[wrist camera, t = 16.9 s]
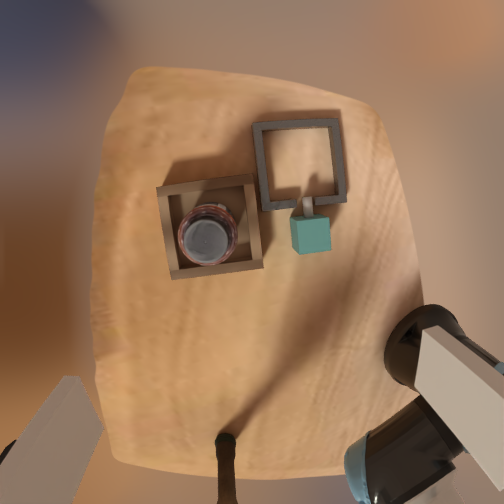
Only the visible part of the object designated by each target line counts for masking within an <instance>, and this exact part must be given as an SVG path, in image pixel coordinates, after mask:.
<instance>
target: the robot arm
mask: <svg viewBox="0 0 504 504" xmlns="http://www.w3.org/2000/svg"><path fill="white" fill-rule="evenodd" d="M384 363H385V367H386V370H387V371H388V373H389V374H390V375H391V377H392V378H393V379H394V380H395V381H396V382H398V383H399V384H402V385H404V386H408V387H409V388H410V389H412V390H414V391H416V392H418V393H419V394H420V395H419V396H418V397H417V398H415V399H414V400H413V401H412V402H410V403H409V404H408V405H406V406H405V407H404V408H403V409H401V410H400V411H399V412H397V413H396V414H395V415H393V416H392V417H391V418H389V419H388V420H386V421H385V422H384V423H382V424H381V425H379V426H378V427H376V428H375V429H373V430H372V431H371V430H370V431H368V432H367V433H366V435H365V436H363V437H362V438H361V439H359V440H358V441H356V442H355V443H354V444H352V445H351V446H350V447H349V448H348V449H347V451H346V453H345V456H344V468H345V474H346V478H347V481H348V484H349V487H350V489H351V492H352V494H353V496H354V498H355V499H356V501H358V502H359V504H466V503H465V501H464V500H463V498H462V497H461V495H460V494H459V492H458V491H457V490H456V488H455V486H454V480H455V477H456V473H457V469H456V467H455V466H454V464H453V463H452V460H453V459H454V458H455V457H456V456H458V455H459V454H460V453H461V452H462V451H465V452H466V453H469V454H471V455H472V456H473V458H474V459H475V460H476V462H477V463H478V464H479V465H480V467H481V468H482V469H483V471H484V472H485V473H486V474H487V476H488V477H489V478H490V480H491V481H492V482H493V483H494V485H495V486H496V487H497V489H498V490H499V491H501V490H503V489H504V363H503V362H500V361H499V360H497V359H496V358H495V357H494V356H492V355H491V354H490V353H488V352H487V351H486V350H484V349H483V348H482V347H480V346H479V345H478V344H476V343H475V342H473V341H472V340H471V339H469V338H468V337H466V335H465V333H464V331H463V330H462V328H461V327H460V326H459V325H458V322H457V320H456V318H455V316H454V315H453V314H452V313H451V312H450V311H448V310H447V309H445V308H444V307H442V306H440V305H436V304H430V305H425V306H422V307H419V308H417V309H415V310H414V311H412V312H411V313H409V314H408V315H407V316H406V317H405V318H404V319H403V320H402V321H401V322H400V323H399V324H398V325H397V327H396V328H395V329H394V331H393V332H392V334H391V336H390V338H389V340H388V342H387V345H386V348H385V353H384ZM103 430H104V427H103V425H102V423H101V421H100V419H99V417H98V415H97V413H96V411H95V409H94V407H93V405H92V403H91V401H90V399H89V397H88V395H87V392H86V390H85V388H84V385H83V383H82V381H81V379H80V376H64V377H63V378H62V380H61V381H60V382H59V383H58V385H57V386H56V387H55V389H54V390H53V391H52V393H51V394H50V395H49V397H48V398H47V399H46V401H45V402H44V403H43V405H42V406H41V407H40V409H39V410H38V411H37V413H36V414H35V416H34V417H33V418H32V420H31V421H30V422H29V424H28V425H27V427H26V428H25V429H24V431H23V432H22V434H21V435H20V436H19V438H18V439H17V440H14V441H13V442H12V443H11V444H9V445H8V446H7V447H6V448H5V449H4V451H3V452H2V453H1V455H0V504H72V502H73V499H74V497H75V495H76V492H77V490H78V487H79V485H80V482H81V480H82V477H83V475H84V473H85V470H86V468H87V466H88V463H89V461H90V459H91V456H92V454H93V452H94V449H95V447H96V445H97V443H98V441H99V438H100V436H101V434H102V432H103Z"/></svg>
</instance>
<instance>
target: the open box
mask: <svg viewBox="0 0 504 504" xmlns="http://www.w3.org/2000/svg"><path fill="white" fill-rule="evenodd" d="M156 190H157V197H158V204H159V211H160V217H161V224H162V230H163V236H164V242H165V248H166V253H167V259H168V264H169V270H170V275H171V280H177V279H185V278H193V277H201V276H208V275H216V274H224V273H232V272H239V271H247V270H254V269H261V268H264V267H263V258H262V249H261V240H260V231H259V223H258V214H257V205H256V196H255V188H254V179H253V174H245V175H237V176H229V177H221V178H213V179H206V180H199V181H193V182H186V183H180V184H173V185H167V186H161V187H156ZM206 202H217V203H220V204H222V205H224V206H225V207H227V208H228V209H229V210H230V211H231V213H232V214H233V216H234V219H235V222H236V226H237V231H238V241H237V245H236V247H235V249H234V251H233V253H232V254H231V255H230V256H229V257H228V258H227V259H226V260H225V261H223V262H221V263H219V264H216V265H210V266H205V265H200V264H197V263H195V262H193V261H191V260H190V259H189V258H187V257H186V256H185V254H184V253H183V252H182V250H181V248H180V245H179V241H178V230H179V226H180V224H181V222H182V220H183V218H184V217H185V216H186V215H187V214H188V213H189V212H190V211H191V210H193V209H194V208H195V207H197V206H198V205H200V204H203V203H206Z"/></svg>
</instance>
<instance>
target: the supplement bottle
mask: <svg viewBox="0 0 504 504" xmlns="http://www.w3.org/2000/svg"><path fill="white" fill-rule="evenodd" d="M178 241H179V245H180V248H181V250H182V252H183V253H184V254H185V256H186V257H187V258H189V259H190V260H191V261H193V262H195V263H197V264H200V265H205V266H210V265H216V264H219V263H221V262H223V261H225V260H226V259H227V258H228V257H229V256H230V255H231V254H232V253H233V251H234V249H235V247H236V245H237V241H238V231H237V226H236V222H235V219H234V216H233V214H232V213H231V211H230V210H229V209H228V208H227V207H225V206H224V205H222V204H220V203H217V202H206V203H203V204H200V205H198V206H197V207H195V208H194V209H193V210H191V211H190V212H189V213H188V214H187V215H186V216H185V217H184V218H183V220H182V222H181V224H180V226H179V230H178Z"/></svg>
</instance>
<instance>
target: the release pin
mask: <svg viewBox="0 0 504 504" xmlns="http://www.w3.org/2000/svg"><path fill="white" fill-rule="evenodd" d="M302 203H303V213H304V216H296V217H290V225H291V236H292V247H293V249H294V250H295V251H296V252H297V253H298V254H299V255H301V254H308V253H315V252H323V251H330V250H331V237H330V222H329V217H326V216H324V215H321V214H313V205H312V197H302Z"/></svg>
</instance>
